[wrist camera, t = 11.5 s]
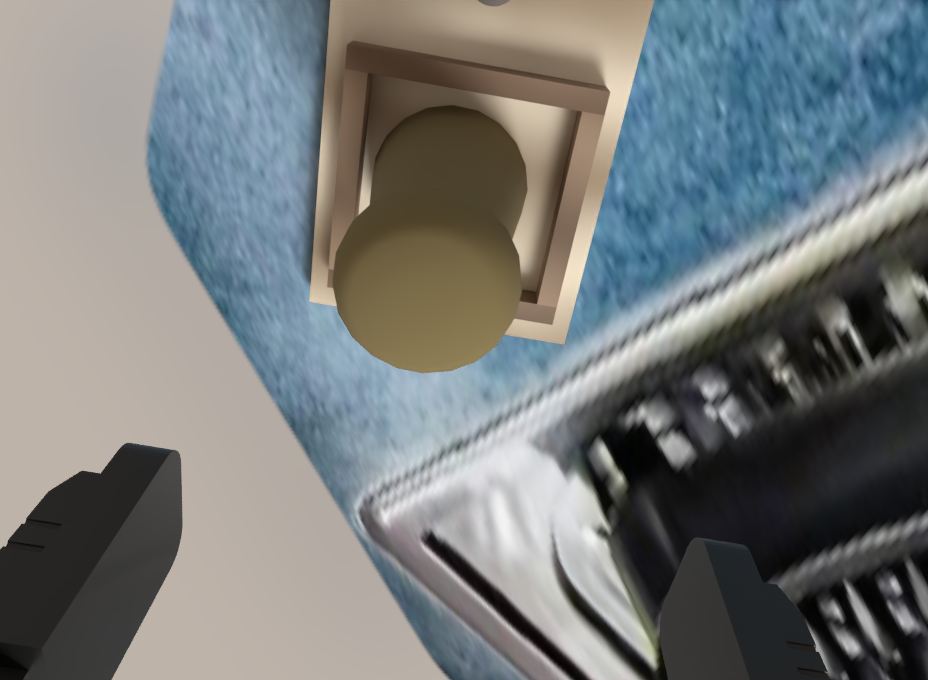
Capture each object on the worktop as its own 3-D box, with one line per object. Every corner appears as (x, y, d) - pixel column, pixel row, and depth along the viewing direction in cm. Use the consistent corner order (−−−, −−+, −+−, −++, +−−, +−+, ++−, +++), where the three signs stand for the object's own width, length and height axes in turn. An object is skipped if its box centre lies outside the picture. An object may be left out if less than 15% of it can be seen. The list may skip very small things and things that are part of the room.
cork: (493, 278, 30) (487, 435, 21) (353, 227, 29) (279, 364, 20) (553, 140, 27) (580, 246, 18) (400, 79, 27) (340, 155, 17)
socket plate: (346, -140, 24) (319, -155, 21) (668, -79, 25) (696, -83, 21) (315, 292, 32) (291, 334, 28) (562, 333, 32) (569, 380, 29)
